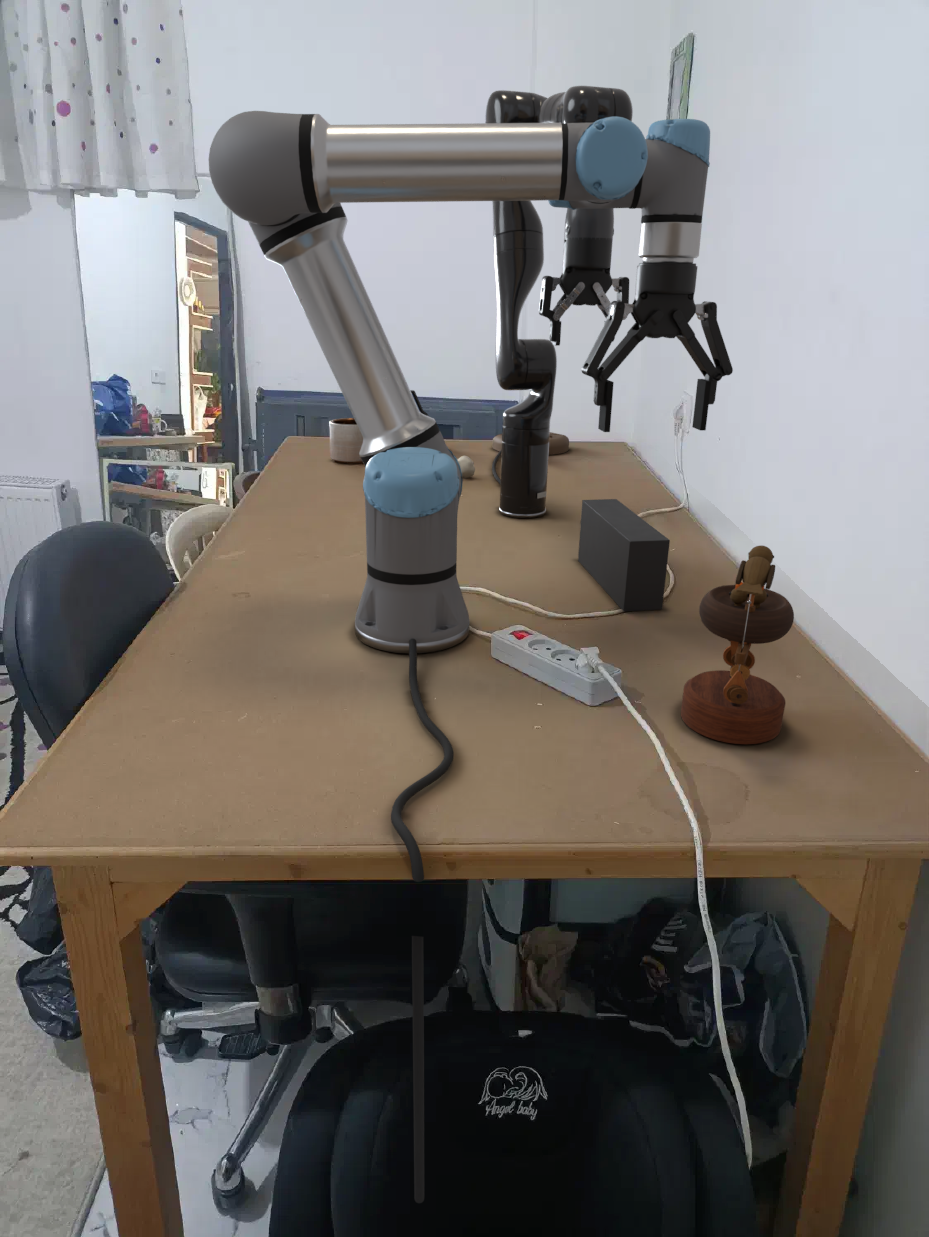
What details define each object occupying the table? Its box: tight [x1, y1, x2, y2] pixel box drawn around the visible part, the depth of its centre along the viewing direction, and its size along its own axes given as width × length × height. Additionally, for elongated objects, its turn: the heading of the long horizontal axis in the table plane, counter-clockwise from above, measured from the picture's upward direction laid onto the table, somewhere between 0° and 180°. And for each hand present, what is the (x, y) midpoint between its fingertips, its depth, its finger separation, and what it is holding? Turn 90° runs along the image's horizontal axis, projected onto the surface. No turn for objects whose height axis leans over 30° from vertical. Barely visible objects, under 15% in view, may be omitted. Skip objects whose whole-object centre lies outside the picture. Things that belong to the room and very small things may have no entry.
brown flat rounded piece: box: [491, 431, 570, 456], centre depth 224 cm, size 21×28×4 cm
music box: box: [680, 545, 795, 745], centre depth 89 cm, size 15×11×20 cm
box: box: [577, 498, 671, 612], centre depth 130 cm, size 23×6×10 cm, turn 9°
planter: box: [328, 417, 364, 464], centre depth 212 cm, size 11×11×10 cm
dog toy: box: [457, 455, 476, 479], centre depth 196 cm, size 20×6×5 cm, turn 99°
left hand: (651, 430), depth 115 cm, fingers open, 13 cm apart
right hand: (581, 345), depth 138 cm, fingers open, 8 cm apart
